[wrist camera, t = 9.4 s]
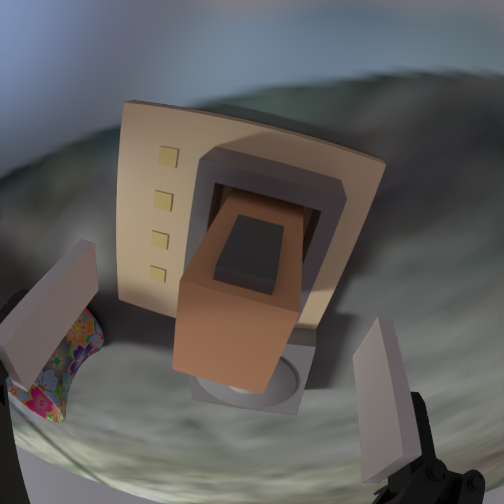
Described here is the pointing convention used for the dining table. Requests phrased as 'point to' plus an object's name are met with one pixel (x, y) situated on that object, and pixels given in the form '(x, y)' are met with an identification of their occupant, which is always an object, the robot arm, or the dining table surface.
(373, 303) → the dining table surface
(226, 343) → the plug
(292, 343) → the grey domed square block
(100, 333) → the mug
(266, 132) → the board
